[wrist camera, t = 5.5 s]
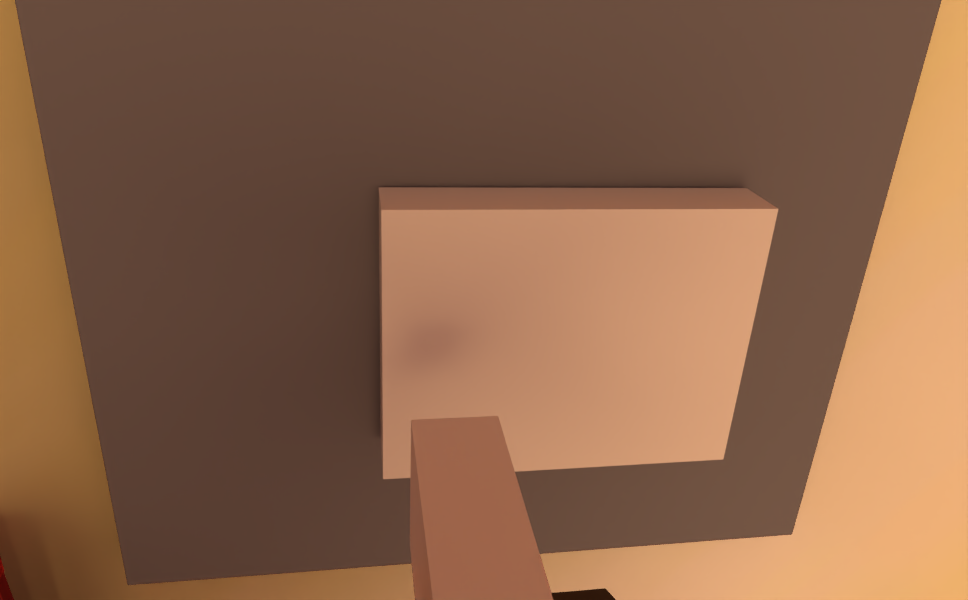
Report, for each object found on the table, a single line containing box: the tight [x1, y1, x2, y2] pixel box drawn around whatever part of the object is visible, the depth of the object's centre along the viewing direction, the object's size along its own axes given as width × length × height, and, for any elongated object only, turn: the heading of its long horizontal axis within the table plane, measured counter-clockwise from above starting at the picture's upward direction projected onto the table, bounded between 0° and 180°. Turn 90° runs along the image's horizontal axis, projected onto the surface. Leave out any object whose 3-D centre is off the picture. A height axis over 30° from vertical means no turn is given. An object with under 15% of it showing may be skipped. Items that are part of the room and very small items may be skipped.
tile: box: [379, 187, 778, 479], centre depth 19 cm, size 2×7×9 cm
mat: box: [15, 0, 941, 585], centre depth 20 cm, size 20×16×1 cm
